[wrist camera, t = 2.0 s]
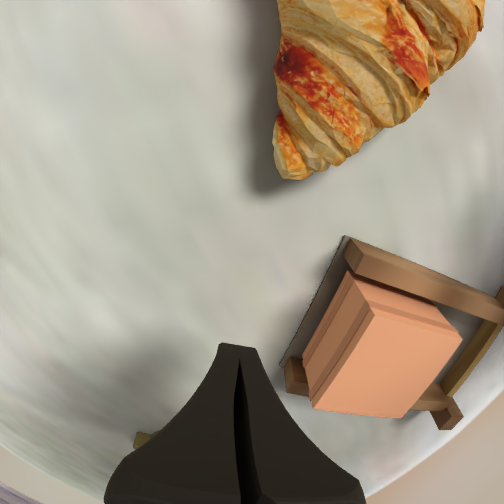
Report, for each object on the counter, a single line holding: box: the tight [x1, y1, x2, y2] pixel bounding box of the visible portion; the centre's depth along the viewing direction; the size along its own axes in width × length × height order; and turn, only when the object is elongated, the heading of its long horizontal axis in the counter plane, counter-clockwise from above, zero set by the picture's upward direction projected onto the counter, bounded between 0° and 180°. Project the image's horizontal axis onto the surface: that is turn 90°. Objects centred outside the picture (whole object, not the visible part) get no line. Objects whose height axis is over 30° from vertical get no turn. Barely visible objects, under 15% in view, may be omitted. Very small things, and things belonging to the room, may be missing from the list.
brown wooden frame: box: [279, 235, 504, 430], centre depth 17 cm, size 15×11×4 cm
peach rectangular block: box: [302, 270, 463, 418], centre depth 16 cm, size 6×6×4 cm
